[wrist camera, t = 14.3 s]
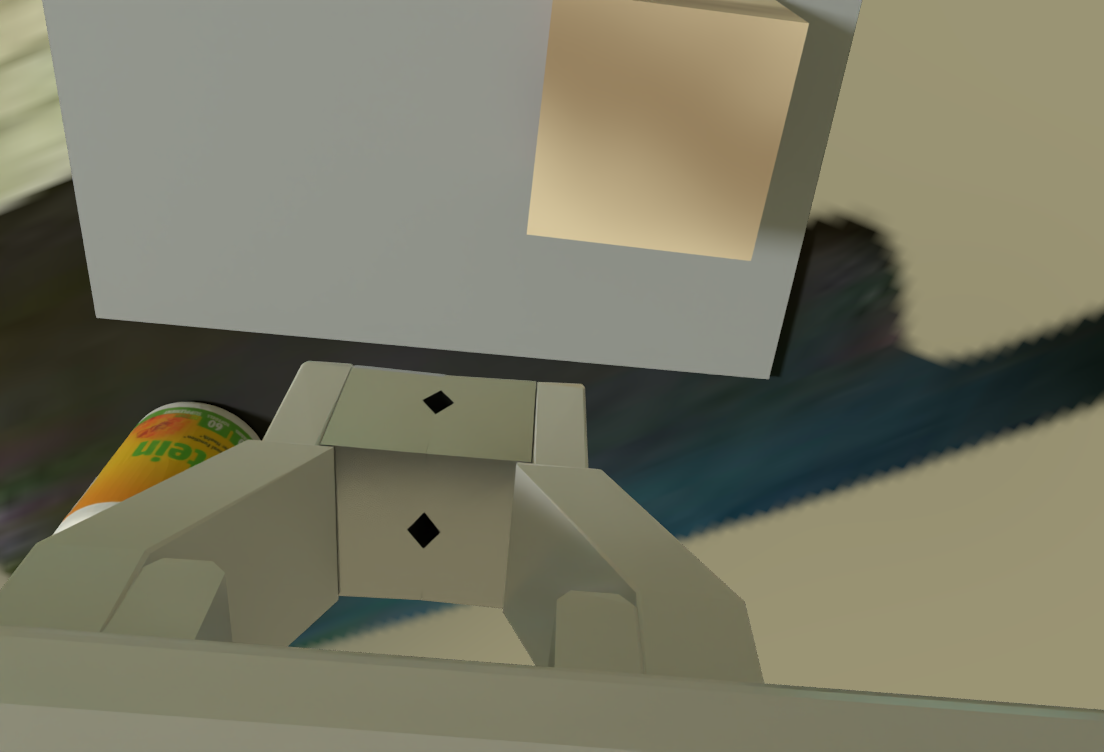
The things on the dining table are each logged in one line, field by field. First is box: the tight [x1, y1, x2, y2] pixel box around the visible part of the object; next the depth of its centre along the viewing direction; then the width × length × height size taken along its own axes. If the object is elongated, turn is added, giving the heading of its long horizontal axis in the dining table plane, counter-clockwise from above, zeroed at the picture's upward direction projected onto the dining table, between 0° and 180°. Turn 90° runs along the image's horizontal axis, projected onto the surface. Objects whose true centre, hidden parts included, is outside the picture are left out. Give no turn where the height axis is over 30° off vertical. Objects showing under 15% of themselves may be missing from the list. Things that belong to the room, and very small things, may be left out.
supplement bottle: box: [53, 402, 260, 535], centre depth 31 cm, size 5×5×10 cm
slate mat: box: [42, 0, 862, 379], centre depth 28 cm, size 20×24×1 cm
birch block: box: [527, 0, 809, 261], centre depth 25 cm, size 6×6×6 cm
